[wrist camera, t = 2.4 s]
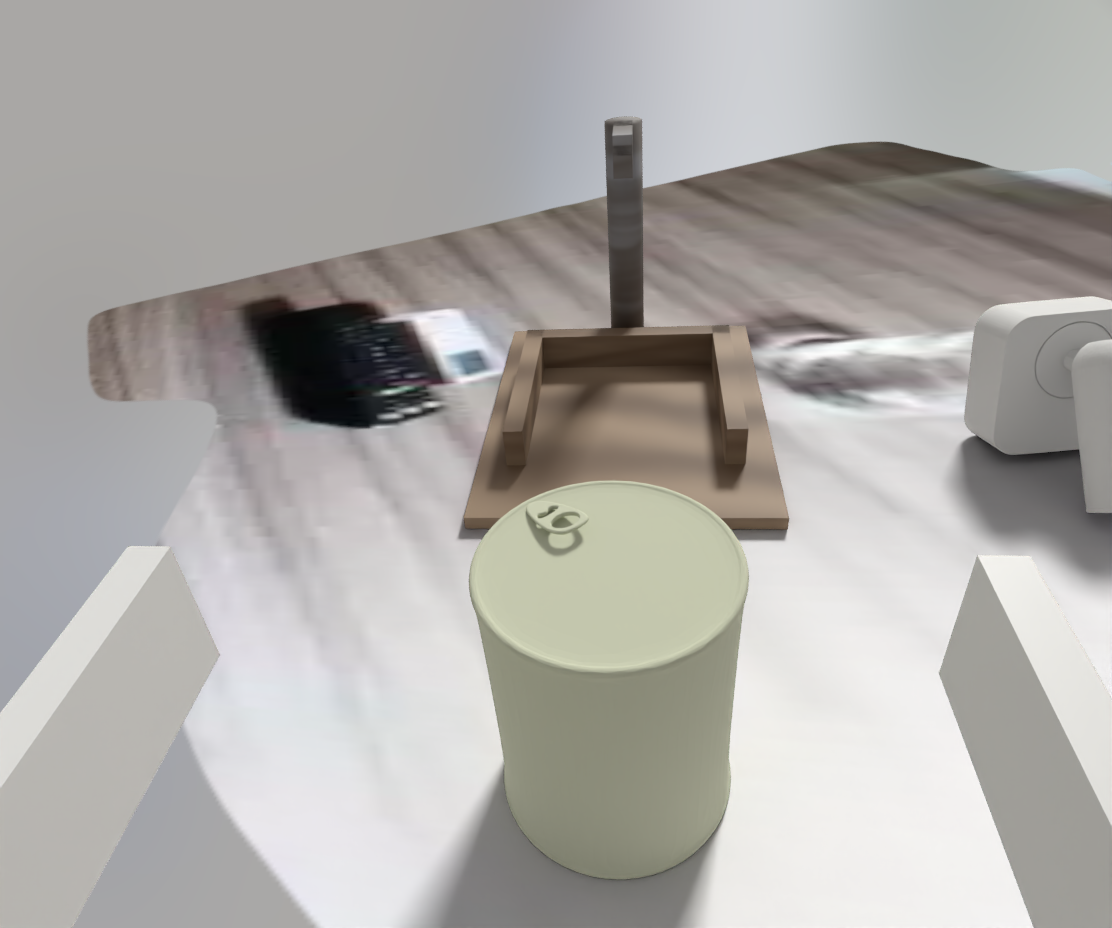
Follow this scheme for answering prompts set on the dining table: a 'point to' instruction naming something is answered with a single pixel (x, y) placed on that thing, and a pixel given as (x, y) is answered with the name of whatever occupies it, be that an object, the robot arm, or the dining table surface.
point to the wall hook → (1047, 384)
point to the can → (612, 670)
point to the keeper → (630, 394)
